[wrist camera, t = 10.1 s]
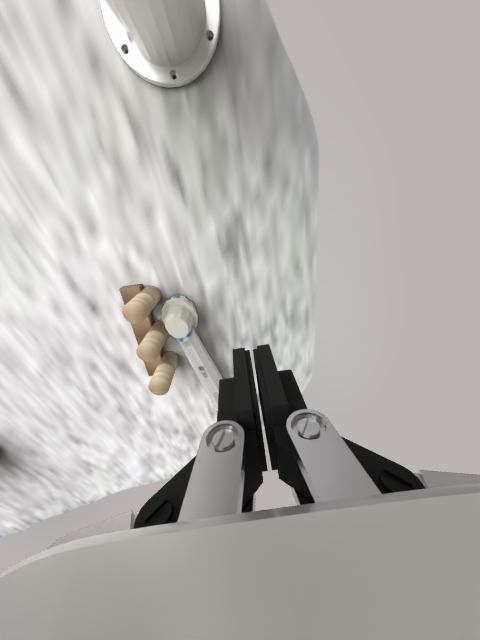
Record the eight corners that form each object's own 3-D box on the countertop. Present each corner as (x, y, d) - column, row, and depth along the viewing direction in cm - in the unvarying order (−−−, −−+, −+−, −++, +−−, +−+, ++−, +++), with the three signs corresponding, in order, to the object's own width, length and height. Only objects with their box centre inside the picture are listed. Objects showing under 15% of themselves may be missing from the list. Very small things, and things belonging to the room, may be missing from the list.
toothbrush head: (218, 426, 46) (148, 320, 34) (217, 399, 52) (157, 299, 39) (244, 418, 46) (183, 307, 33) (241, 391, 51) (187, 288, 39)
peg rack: (123, 286, 39) (98, 303, 32) (157, 281, 39) (141, 296, 31) (151, 371, 45) (136, 401, 38) (181, 366, 45) (172, 396, 38)
